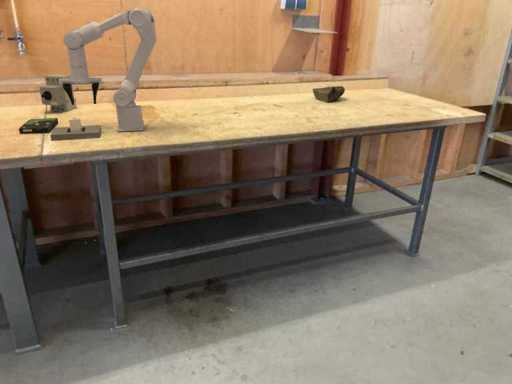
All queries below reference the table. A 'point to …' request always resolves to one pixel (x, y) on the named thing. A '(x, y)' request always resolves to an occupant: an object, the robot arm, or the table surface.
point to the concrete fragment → (329, 93)
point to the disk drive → (38, 126)
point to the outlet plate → (76, 133)
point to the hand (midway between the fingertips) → (84, 103)
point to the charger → (75, 124)
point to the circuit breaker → (56, 94)
